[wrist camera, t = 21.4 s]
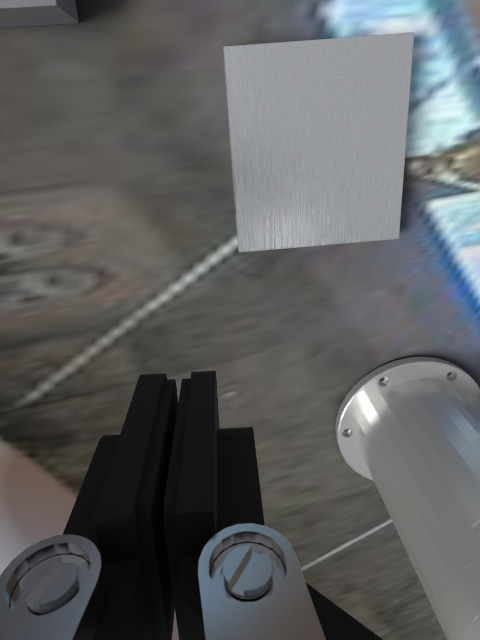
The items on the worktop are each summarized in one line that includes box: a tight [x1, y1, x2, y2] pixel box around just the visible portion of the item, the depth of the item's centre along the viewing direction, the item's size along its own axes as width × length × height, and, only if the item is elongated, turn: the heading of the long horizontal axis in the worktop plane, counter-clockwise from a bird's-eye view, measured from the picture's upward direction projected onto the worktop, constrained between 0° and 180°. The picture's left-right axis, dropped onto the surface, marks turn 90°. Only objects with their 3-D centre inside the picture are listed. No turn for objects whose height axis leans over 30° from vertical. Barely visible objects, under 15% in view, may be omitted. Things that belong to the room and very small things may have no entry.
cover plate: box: [223, 33, 414, 252], centre depth 28 cm, size 2×12×11 cm
